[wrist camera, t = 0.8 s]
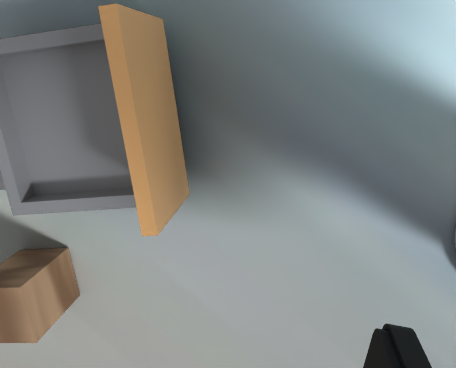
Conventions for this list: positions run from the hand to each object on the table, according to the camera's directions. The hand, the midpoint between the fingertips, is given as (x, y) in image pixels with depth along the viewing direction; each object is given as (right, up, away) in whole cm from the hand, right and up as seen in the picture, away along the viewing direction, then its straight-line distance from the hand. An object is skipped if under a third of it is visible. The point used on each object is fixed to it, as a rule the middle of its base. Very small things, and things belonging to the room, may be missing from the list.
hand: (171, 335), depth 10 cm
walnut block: (-16, -5, +29) cm, 33 cm away
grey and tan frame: (-10, +9, +24) cm, 27 cm away
